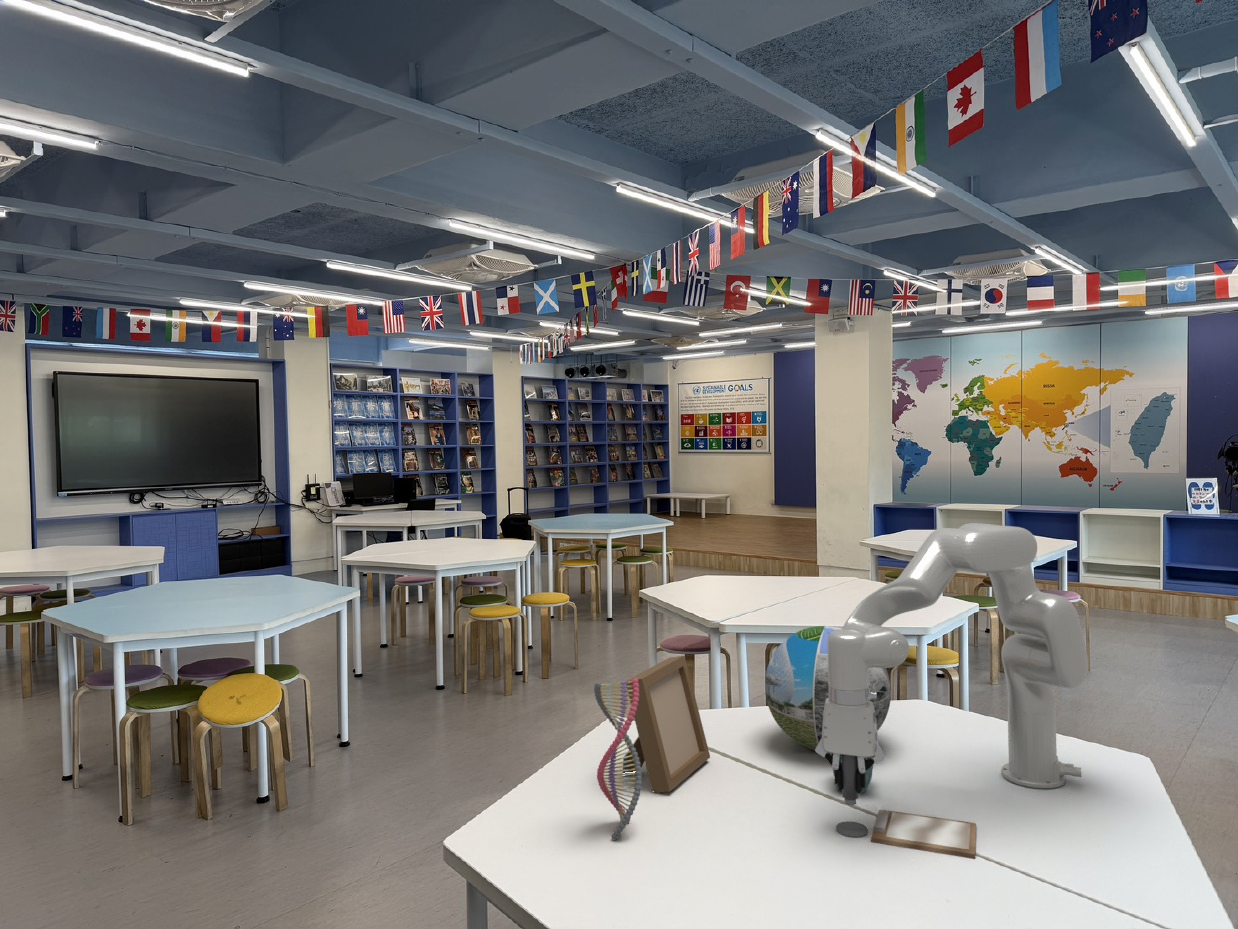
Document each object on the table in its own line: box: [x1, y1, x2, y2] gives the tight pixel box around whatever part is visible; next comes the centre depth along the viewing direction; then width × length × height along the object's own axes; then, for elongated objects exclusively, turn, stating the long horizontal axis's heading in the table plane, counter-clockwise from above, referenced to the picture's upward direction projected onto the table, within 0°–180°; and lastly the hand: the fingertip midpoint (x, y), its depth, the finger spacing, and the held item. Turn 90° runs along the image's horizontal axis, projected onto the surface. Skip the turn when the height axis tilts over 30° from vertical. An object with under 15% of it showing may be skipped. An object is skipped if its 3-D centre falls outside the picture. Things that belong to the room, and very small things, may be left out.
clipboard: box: [870, 808, 977, 859], centre depth 158 cm, size 18×13×2 cm
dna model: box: [593, 678, 643, 841], centre depth 163 cm, size 9×9×30 cm
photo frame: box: [622, 654, 711, 794], centre depth 192 cm, size 15×22×25 cm
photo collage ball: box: [764, 625, 892, 751], centre depth 204 cm, size 30×30×30 cm
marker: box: [841, 755, 859, 806], centre depth 160 cm, size 3×3×12 cm
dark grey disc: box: [835, 820, 869, 839], centre depth 161 cm, size 6×6×1 cm
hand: (850, 788), depth 161 cm, fingers closed on marker, 3 cm apart
